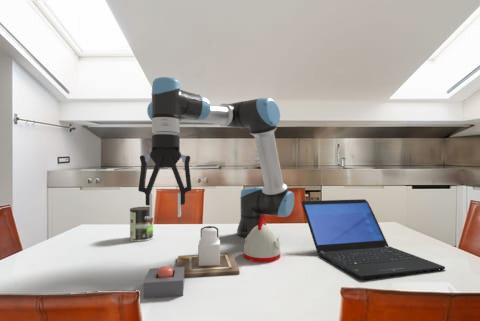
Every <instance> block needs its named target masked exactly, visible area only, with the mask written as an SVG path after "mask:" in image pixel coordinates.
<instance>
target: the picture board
mask: <svg viewBox="0 0 480 321" xmlns="http://www.w3.org/2000/svg"><path fill="white" fill-rule="evenodd" d="M175 267H184V278H197V277H200V278H201V277H215V276H231V275H240V269H239V266H238V263H237V261H236V259H235V257H234V253H233V252H228V253H225V252H224V253H223V252H222V253H220V265H219V266H199V265H198V254H189V255H187V254H185V255H178V256H177V261H176V264H175Z"/></svg>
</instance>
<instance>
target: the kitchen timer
mask: <svg viewBox="0 0 480 321" xmlns="http://www.w3.org/2000/svg"><path fill="white" fill-rule="evenodd" d="M265 222H266V217H265V215H264V216H261V217H260V220H259V224H258V225H257V226H256V227H254V228H253V229H252V230H251V232H250V233H249V235H248V236H247V237H246V238H245V237H244V243H243V250H242V251H243V252H242V254H243V258H244V259H245V260H247V261H249V262H253V263H273V262H276V261H279V260H280V259H281V249H280V248H281V246H280V240H279V237H277V236H276V234H275V233H274V231H273V230H272V229H271V228H270V227H269V226H268V225H267V224H266V225H265Z"/></svg>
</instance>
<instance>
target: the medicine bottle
mask: <svg viewBox="0 0 480 321" xmlns="http://www.w3.org/2000/svg"><path fill="white" fill-rule="evenodd" d="M197 249H198V252H197V253H198V254H197V255H198V265H199V266H219V265H220V254H221V240H220V238H219V228H218V227H216V226H211V225H207V226H203V227H201V228H200V239H199V241H198V248H197Z"/></svg>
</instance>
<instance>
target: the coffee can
mask: <svg viewBox="0 0 480 321" xmlns="http://www.w3.org/2000/svg"><path fill="white" fill-rule="evenodd" d="M153 239H154V217H153V218H150V206H136V207H130V208H129V240H130V241H131V242H146V241H151V240H153Z"/></svg>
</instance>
